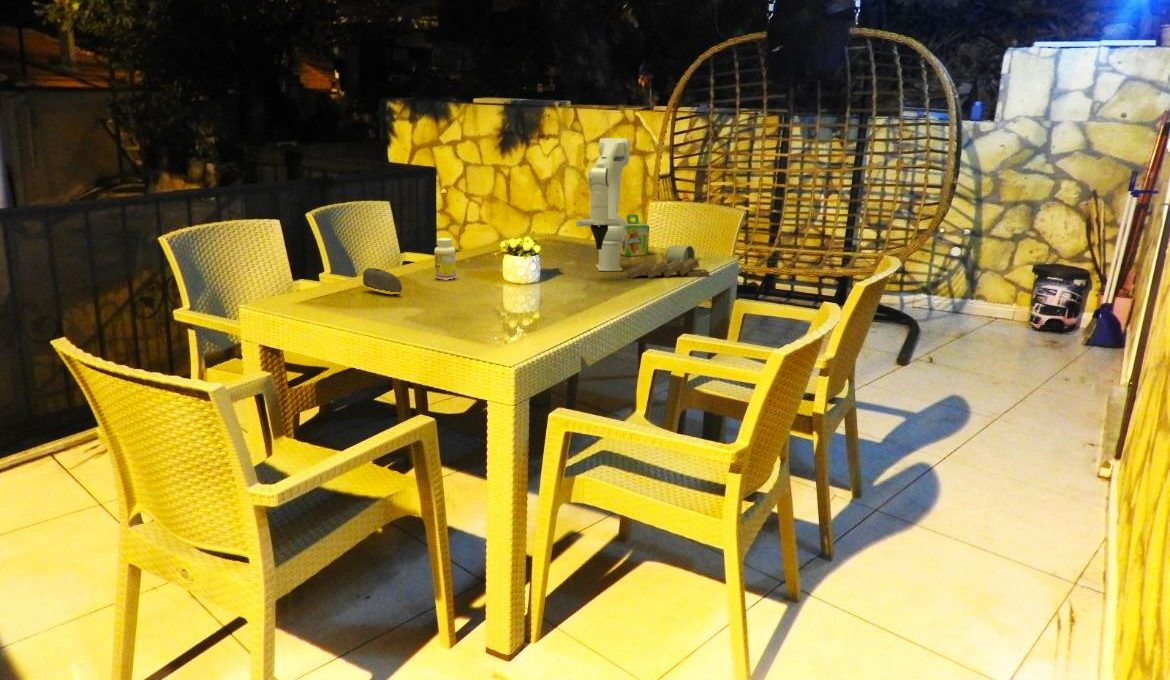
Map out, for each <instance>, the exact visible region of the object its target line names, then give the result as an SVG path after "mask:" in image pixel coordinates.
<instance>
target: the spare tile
mask: <svg viewBox="0 0 1170 680" xmlns="http://www.w3.org/2000/svg"><path fill="white" fill-rule="evenodd" d="M650 267H651V265H650V264H649V263H647V262H644V263H641V264H638V265H636V266H633V267H631V268H628V269H626V271H625V272H626V273H627V276H628V277H629V279H631V278H632V279H634V278H637V277H639V276H642V275H645V273H647V272H649V271H651V269H650Z"/></svg>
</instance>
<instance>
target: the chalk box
mask: <svg viewBox="0 0 1170 680" xmlns="http://www.w3.org/2000/svg"><path fill="white" fill-rule="evenodd" d="M632 218H634V219H635V220H634V221H631V219H632ZM626 220H627V222H625V239H624V241H623V242H622V243H620V255H622V256H624V257H625V256H626V257H642V256H641V255H648V256H649V245H650V244H649V241H650V240H649V239H650V225H649V224H646V223H643V222H639V215H638V214H627V215H626Z"/></svg>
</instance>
